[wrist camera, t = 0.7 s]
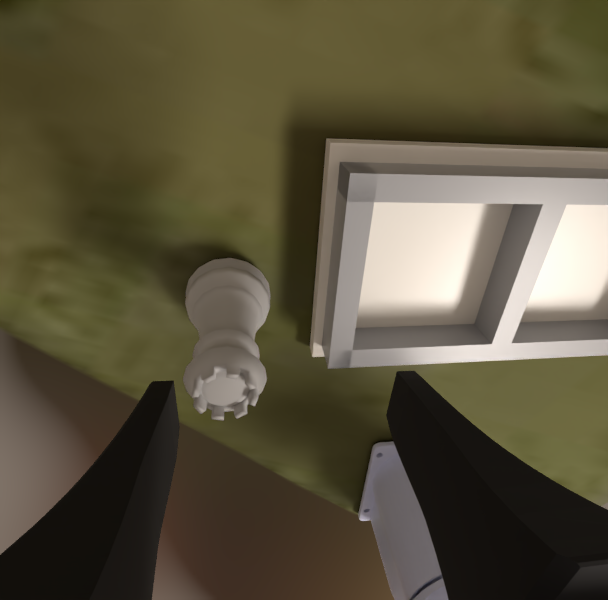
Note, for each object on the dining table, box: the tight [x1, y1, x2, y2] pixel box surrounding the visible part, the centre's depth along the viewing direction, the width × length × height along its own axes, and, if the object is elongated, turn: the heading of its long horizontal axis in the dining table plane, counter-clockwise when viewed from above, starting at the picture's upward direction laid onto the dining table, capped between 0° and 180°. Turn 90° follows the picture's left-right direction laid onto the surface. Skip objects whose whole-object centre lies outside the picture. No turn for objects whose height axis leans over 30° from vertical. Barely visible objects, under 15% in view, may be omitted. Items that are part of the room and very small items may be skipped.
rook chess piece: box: [183, 258, 271, 421], centre depth 19 cm, size 4×4×8 cm
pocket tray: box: [310, 138, 608, 369], centre depth 22 cm, size 12×21×3 cm, turn 87°
